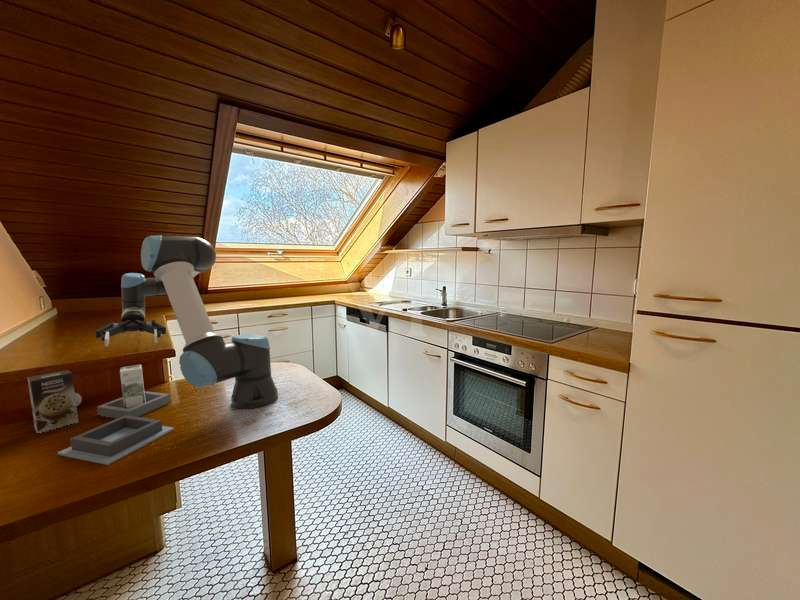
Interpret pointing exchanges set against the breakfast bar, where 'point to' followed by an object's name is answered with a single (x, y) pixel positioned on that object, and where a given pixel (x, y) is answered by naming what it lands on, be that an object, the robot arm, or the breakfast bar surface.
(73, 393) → the dessert mix box
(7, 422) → the breakfast bar surface
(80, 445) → the gray flanged tray
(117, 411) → the gray open tray
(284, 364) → the breakfast bar surface
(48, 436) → the breakfast bar surface
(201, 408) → the breakfast bar surface
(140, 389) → the syrup box
